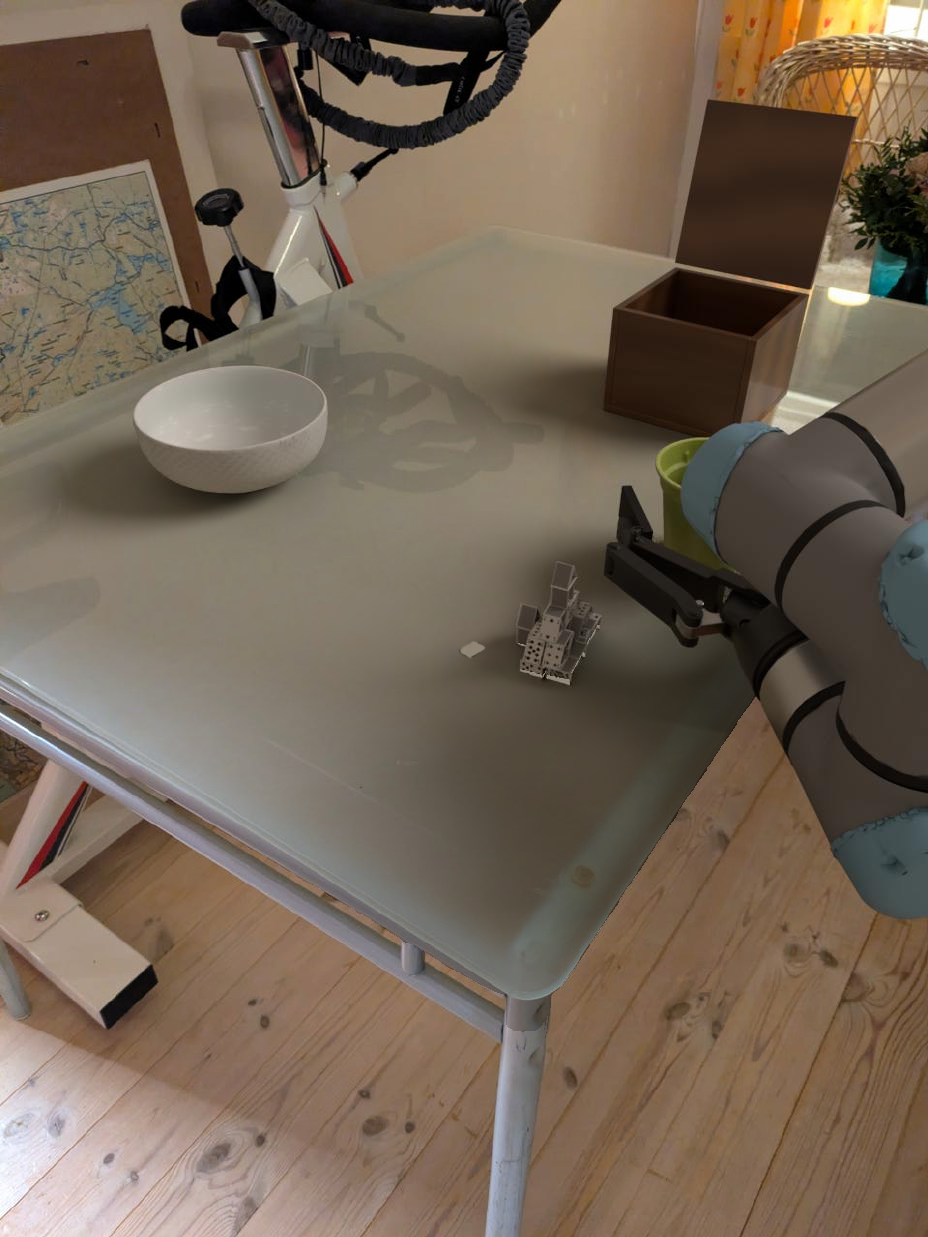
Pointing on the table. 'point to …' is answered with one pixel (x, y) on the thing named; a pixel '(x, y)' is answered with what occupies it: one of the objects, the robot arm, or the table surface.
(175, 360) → the table surface
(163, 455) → the cereal bowl
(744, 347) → the chest
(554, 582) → the house of cards
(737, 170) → the chest lid
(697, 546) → the plant pot
